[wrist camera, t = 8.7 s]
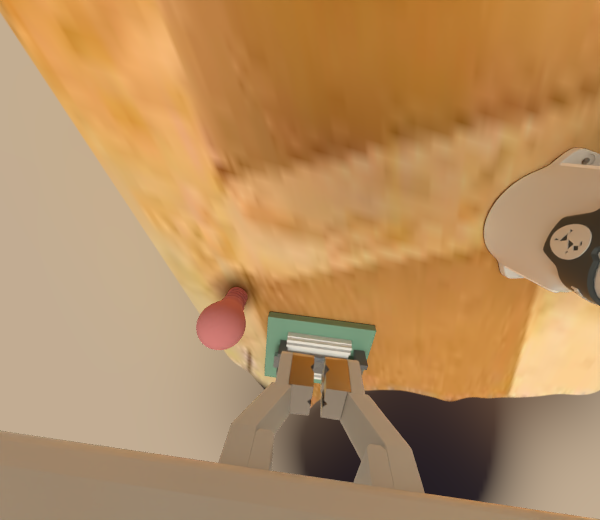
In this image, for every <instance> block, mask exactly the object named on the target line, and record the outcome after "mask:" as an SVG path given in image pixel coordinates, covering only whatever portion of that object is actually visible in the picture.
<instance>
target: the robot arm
mask: <svg viewBox="0 0 600 520" xmlns="http://www.w3.org/2000/svg"><path fill="white" fill-rule="evenodd" d="M583 159H584V161H583ZM582 161H583V163H582ZM484 240H485V244H486V246H487V248H488V250H489V252H490V253H491V254H492V255H493V256H494V257H495V258H496V259H497V261H498V263H499V269H500V272H501V274H502V275H503V276H505V277H507V278H526V279H528V280H530V281H532V282H534V283H536V284H537V285H539V286H541V287H543V288H545V289H547V290H549V291H551V292H555V293H558V292H575V293H576V294H577V295H579V296H580V297H582V298H583V299H585V300H587V301H589V302H591V303H594V304H597V305H599V306H600V154H599V153H596V152H593V151H591V150H588V149H584V148H573V149H570V150H568V151H567V152H565V153H564V154H563V155H561V156H560V157H559V158H557V159H556V160H555V161H554V162H553V163H551V164H550V165H548V166H547V167H545V168H543V169H540V170H538V171H536V172H533V173H531V174H529V175H527V176H525V177H523V178H522V179H520V180H519V181H517V182H516V183H514V184H513V185H512V186H510V187H509V188H508V189H507V190H506V191H505V192H504V193H503V194H502V195H501V196H500V197H499V198H498V200H497V201H496V202H495V204H494V205H493V207H492V208H491V210H490V212H489V214H488V216H487V219H486V222H485V227H484ZM313 369H314V355H307V354H301V353H294V352H287V351H282V353H281V356H280V361H279V366H278V371H277V376H276V382H275V383H274V382H272V383H271V384H270V385H269V386H268V387H267V388H266V389H265V390H264V391H263V392H262V393H261V394H260V395H259V396H258V397H257V398H256V399H255V400H254V401H253V402H252V403H251V404H250V405H249V406H248V407H247V408H246V409H245V410H244V411H243V412H242V413H241V414H240V415H239V416H238V417H237V418H236V419H235V420H234V421H233V422H232V423H231V426H230V429H229V432H228V435H227V438H226V441H225V444H224V447H223V450H222V453H221V456H220V459H219V462H218V463H215V462H209V461H202V460H195V459H187V458H181V457H174V456H168V455H161V454H154V453H148V452H141V451H133V450H127V449H120V448H114V447H107V446H99V445H93V444H86V443H80V442H73V441H66V440H59V439H53V438H46V437H39V436H33V435H26V434H19V433H12V432H6V431H0V520H600V519H595V518H587V517H581V516H574V515H567V514H560V513H554V512H546V511H540V510H533V509H526V508H520V507H513V506H506V505H499V504H493V503H486V502H478V501H472V500H465V499H458V498H451V497H445V496H438V495H432V494H425V493H424V489H423V486H422V483H421V479H420V476H419V472H418V469H417V466H416V462H415V459H414V456H413V452H412V449H411V448H410V446H409V445H408V444H407V443H406V441H405V440H404V439H403V438H402V437H401V435H400V434H399V433H398V431H396V429H395V428H394V427H393V425H392V424H391V423H390V422H389V421H388V419H387V418H386V417H385V415H384V414H383V413H382V411H381V410H380V409H379V408H378V407H377V405H376V404H375V403H374V401H373V400H372V399H371V398H370V396H369V395H365V392H364V386H363V380H362V375H361V369H360V364H359V361H357V360H348V359H341V358H332V357H325V358H324V369H322V375H321V393H322V396H321V417H323V418H329V419H335V420H341V424H342V425H343V427H344V429H345V431H346V433H347V435H348V437H349V439H350V440H351V442H352V444H353V446H354V448H355V450H356V452H357V454H358V455H359V457H360V459H361V464H360V467H359V469H358V472H357V474H356V477H355V480H354V483H351V482H344V481H337V480H331V479H324V478H317V477H310V476H303V475H297V474H290V473H283V472H276V471H272V458H273V442H274V435H275V434H276V432H277V431H278V430H279V428H280V426H281V425H282V424H283V423H284V421H285V420H286V418H287V417H288V415H289V413H291V414H301V415H309V410H310V406H311V398H312V393H313V384H314V371H313Z"/></svg>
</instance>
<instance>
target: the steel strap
mask: <svg viewBox="0 0 600 520" xmlns="http://www.w3.org/2000/svg"><path fill="white" fill-rule="evenodd" d="M279 361H280V358H278V352H275V355H274V364H273V367H274V368H278V366H279ZM322 369H324V359H323V358H316V357H314V369H313V371H314V373H317V374H322ZM362 373H363V369H361V375H362Z"/></svg>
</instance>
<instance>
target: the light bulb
mask: <svg viewBox="0 0 600 520" xmlns="http://www.w3.org/2000/svg"><path fill="white" fill-rule="evenodd" d="M247 298H248V297H247V293H246V292H245V291H244V290H243V289H241V288H239V287H233V288H231V289H230V290H229V291H228V293H227V294H226V296H225V297H224V298H223V299H222V301H218V302H216V303H213V304H211V305H209V306H208V307H207V308H205V309H204V310H203V311H202V313H201V314H200V316H199V318H198V321H197V326H196V330H197V335H198V338H199V339H200V341H201V342H202V343H203V344H204V345H205V346H206V347H208V348H210V349H214V350H224V349H228V348H230V347H232V346H234V345H235V344H236V343H237V342H238V341H239V340H240V339H241V338H242V336H243V334H244V331H245V327H246V321H245V316H244V312H243V310H244V306H245V304H246V301H247Z"/></svg>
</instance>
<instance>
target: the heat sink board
mask: <svg viewBox="0 0 600 520" xmlns="http://www.w3.org/2000/svg"><path fill="white" fill-rule="evenodd" d="M375 333H376V329H375V325H367V324H360V323H352V322H345V321H337V320H329V319H322V318H314V317H307V316H299V315H292V314H284V313H277V312H270V313H269V316H268V329H267V345H266V361H265V376H270V377H276V376H277V371H278V368H274V367H273V364H274V355H275V352H278V358H280V356H281V353H282V351H287V352H294V353H301V354H307V355H314V357H316V358H323V359H324V358H325V357H332V358H341V359H348V360H357V361H359V364H360V369H363V370H367V367H368V365H367V358H368V355H369V352H370V349H371V346H372V343H373V340H374V336H375ZM321 375H322V374H317V373H314V383H321Z"/></svg>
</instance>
